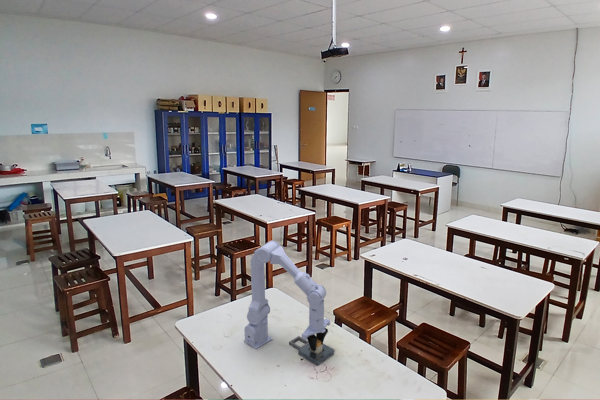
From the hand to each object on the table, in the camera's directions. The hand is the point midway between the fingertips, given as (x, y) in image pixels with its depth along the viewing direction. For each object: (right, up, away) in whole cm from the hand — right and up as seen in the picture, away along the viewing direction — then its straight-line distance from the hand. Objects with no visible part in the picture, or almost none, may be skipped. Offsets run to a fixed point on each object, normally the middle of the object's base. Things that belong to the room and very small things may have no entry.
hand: (316, 347), depth 152 cm
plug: (0, -3, +1) cm, 3 cm away
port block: (0, -3, +1) cm, 3 cm away
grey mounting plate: (-7, -1, +7) cm, 9 cm away
